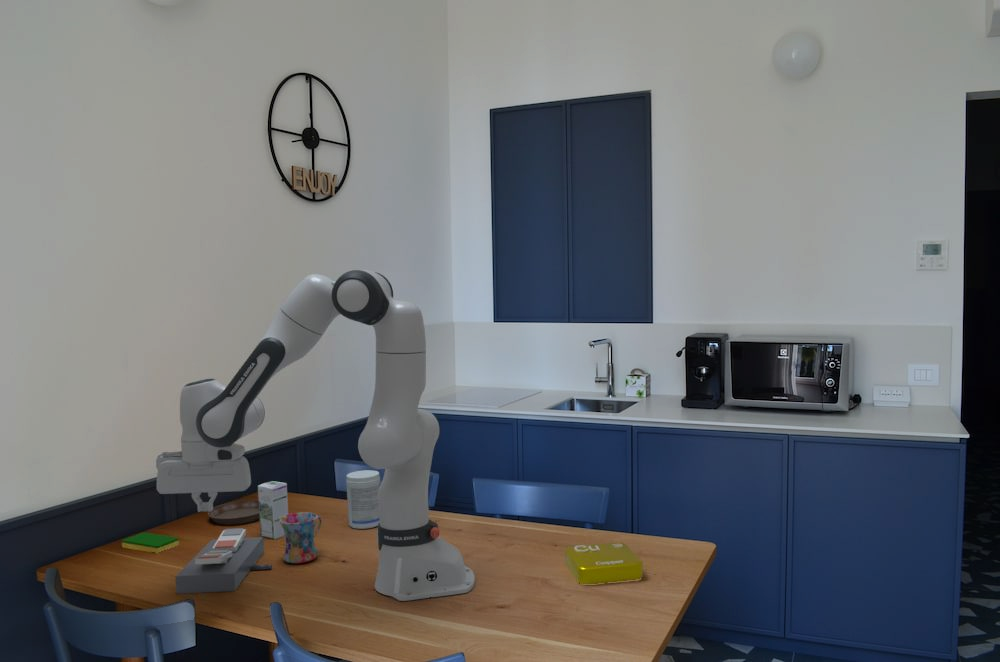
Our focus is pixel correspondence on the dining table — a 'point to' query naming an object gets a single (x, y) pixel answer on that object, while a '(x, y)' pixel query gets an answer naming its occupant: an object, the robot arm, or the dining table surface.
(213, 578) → the switch panel
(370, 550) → the dining table surface
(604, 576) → the element tile
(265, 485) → the syrup box
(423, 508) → the robot arm
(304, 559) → the mug
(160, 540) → the dish sponge
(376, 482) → the supplement tub
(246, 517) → the plant saucer
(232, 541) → the rocker
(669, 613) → the dining table surface
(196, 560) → the rocker
